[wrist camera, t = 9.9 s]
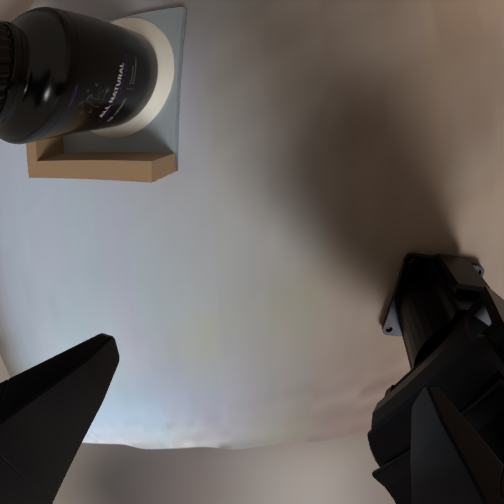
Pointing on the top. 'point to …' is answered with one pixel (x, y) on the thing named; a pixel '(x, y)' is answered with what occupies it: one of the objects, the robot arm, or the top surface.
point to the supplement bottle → (70, 75)
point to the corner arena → (136, 130)
